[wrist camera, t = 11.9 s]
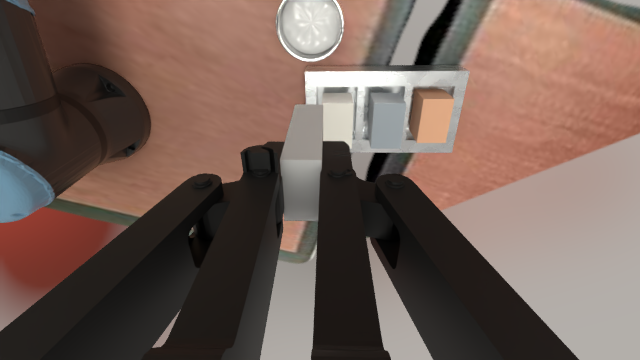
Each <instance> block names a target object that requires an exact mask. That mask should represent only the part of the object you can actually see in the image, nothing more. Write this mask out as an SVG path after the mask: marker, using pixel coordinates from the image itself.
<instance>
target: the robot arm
mask: <svg viewBox="0 0 640 360" xmlns="http://www.w3.org/2000/svg"><path fill="white" fill-rule="evenodd" d="M34 16H35V12H34V10H33V9H32V8H31V7H30V5H29V2H28V0H0V223H5V222H12V221H17V220H20V219H23V218H25V217H26V216H28V215H30V214H31V213H33V212H35V211H36V210H38V209H40V208H41V207H43V206H46V205H48V204H50V203H51V202H52V201H53V200H54V199H55V198H56V197H57V196H59V195H60V194H61V193H63V192H64V191H65V190H67V189H68V188H69V187H70V186H72V185H73V184H74V183H76V182H77V181H78V180H80V179H81V178H82V177H84V176H85V175H86V174H87V173H89V172H90V171H91V170H93V169H94V168H95V167H97V166H98V165H101V164H105V163H110V162H114V161H118V160H122V159H125V158H127V157H129V156H131V155H133V154H134V153H135V152H136V151H138V150H139V149H140V148H141V147H142V146H143V145H144V144H145V143H146V141H147V139H148V136H149V133H150V118H149V113H148V110H147V108H146V105H145V103H144V101H143V100H142V98H141V97H140V95H139V94H138V92H137V91H136V90H135V89H134V88H133V87H132V86H131V85H130V84H129V83H128V82H127V81H126V80H125V79H123V78H122V77H121V76H119V75H118V74H116V73H115V72H113V71H111V70H109V69H106V68H104V67H101V66H97V65H93V64H76V65H72V66H68V67H64V68H61V69H59V70H57V71H55V72H54V73H52V72H51V69H50V66H49V63H48V59H47V56H46V53H45V50H44V47H43V44H42V41H41V38H40V35H39V32H38V29H37V25H36V22H35V19H34ZM241 159H242V166H243V175H242V177H241V179H240V180H239V181H235V182H230V183H224V184H222V182H221V178H220V177H219V176H218V175H214V174H206V173H205V174H198V175H196V176H193V177H191V178H189V179H187V180H186V181H185V182H183V183H182V184H181V185H180V186H178V187H177V188H176V189H175V190H174V191H172V192H171V193H170V194H169V195H167V196H166V197H165V198H164V199H163V200H161V201H160V202H159V203H158V204H156V205H155V206H154V207H153V208H151V209H150V210H149V211H148V212H147V213H145V214H144V215H143V216H142V217H140V218H139V219H138V220H137V221H135V222H134V223H133V224H132V225H131V226H129V227H128V228H127V229H126V230H124V231H123V232H122V233H121V234H119V235H118V236H117V237H116V238H115V239H113V240H112V241H111V242H110V243H109V244H107V245H106V246H105V247H104V248H102V249H101V250H100V251H99V252H97V253H96V254H95V255H94V256H93V257H91V258H90V259H89V260H88V261H86V262H85V263H84V264H83V265H81V266H80V267H79V268H78V269H76V270H75V271H74V272H73V273H72V274H70V275H69V276H68V277H67V278H65V279H64V280H63V281H62V282H61V283H59V284H58V285H57V286H56V287H55V288H53V289H52V290H51V291H50V292H48V293H47V294H46V295H45V296H43V297H42V298H41V299H40V300H38V301H37V302H36V303H35V304H34V305H32V306H31V307H30V308H29V309H27V310H26V311H25V312H24V313H22V314H21V315H20V316H19V317H18V318H16V319H15V320H14V321H13V322H11V323H10V324H9V325H8V326H6V327H5V328H4V329H3V330H2V331H0V360H260V355H261V349H262V344H263V338H264V333H265V327H266V322H267V316H268V311H269V305H270V300H271V294H272V288H273V283H274V277H275V271H276V266H277V261H278V255H279V250H280V244H281V238H282V233H283V219H282V218H283V213H284V221H318V236H317V260H316V284H315V308H314V333H313V349H312V354H311V360H391V358H390V355H389V353H388V351H385V350H384V347H383V343H382V337H381V331H380V325H379V319H378V312H377V306H376V299H375V293H374V286H373V280H372V273H371V267H370V261H369V254H368V248H367V241H366V236H369V237H370V240H371V244H372V246H373V248H374V249H375V251H376V253H377V255H378V257H379V259H380V261H381V262H382V264H383V266H384V268H385V270H386V272H387V274H388V276H389V278H390V279H391V281H392V283H393V285H394V287H395V289H396V291H397V292H398V294H399V296H400V298H401V300H402V302H403V304H404V306H405V308H406V309H407V311H408V313H409V315H410V317H411V319H412V321H413V322H414V324H415V326H416V328H417V330H418V332H419V334H420V336H421V337H422V339H423V341H424V343H425V344H426V347H427V349H428V350H429V352H430V354H431V356H432V358H433V360H579V359H578V358H577V357H576V356H575V355H574V354H573V353H572V352H571V350H570V349H569V348H568V347H567V346H566V345H565V344H564V343H563V342H562V341H561V340H560V339H559V338H558V337H557V335H556V334H555V333H554V332H553V331H552V330H551V329H550V328H549V327H548V326H547V325H546V324H545V323H544V322H543V320H541V318H540V317H539V316H538V315H537V314H536V313H535V312H534V311H533V310H532V309H531V308H530V307H529V305H528V304H527V303H526V302H525V301H524V300H523V299H522V298H521V297H520V296H519V295H518V294H517V293H516V292H515V291H514V289H513V288H512V287H511V286H510V285H509V284H508V283H507V282H506V281H505V280H504V279H503V278H502V276H501V275H500V274H499V273H498V272H497V271H496V270H495V269H494V268H493V267H492V266H491V265H490V264H489V262H488V261H487V260H486V259H485V258H484V257H483V256H482V255H481V254H480V253H479V252H478V251H477V250H476V249H475V248H474V246H472V244H471V243H470V242H469V241H468V240H467V239H466V238H465V237H464V236H463V235H462V234H461V233H460V231H459V230H458V229H457V228H456V227H455V226H454V225H453V224H452V223H451V222H450V221H449V220H448V219H447V217H446V216H445V215H444V214H443V213H442V212H441V211H440V210H439V209H438V208H437V207H436V206H435V205H434V203H433V202H432V201H431V200H430V199H429V198H428V197H427V196H426V195H425V194H424V193H423V192H422V191H421V190H420V188H419V187H418V186H417V185H416V184H415V183H414V182H413V181H412V180H411V179H409V178H408V177H405V176H403V175H400V174H385V175H381V176H380V177H378V178H377V180H376V183H372V182H367V181H364V180H361V179H359V178H358V177H356V173H355V171H354V170H353V168H352V161H351V155H350V148H349V145H348V144H347V143H346V142H344V141H323V105H311V104H295V108H294V111H293V115H292V118H291V122H290V125H289V129H288V133H287V136H286V140H285V142H267V143H266V144H264V145H258V146H252V147H248V148H246V149H244V150H243V151H242V152H241ZM192 227H193V229H194V232H193V233H192V234H191V235H190V236H189V232H190V230H191V229H192ZM180 309H181V311H180ZM179 311H180V313H179V315H178V317H177V319H176V321H175V324H174V326H173V328H172V330H171V332H170V335H169V337H168V339H167V340H166V342H165V344H164V345H163V346H161V347H157V348H152V347H153V345H154V344H155V343H156V341H157V340H158V339H159V337H160V336H161V335H162V333H163V332H164V331H165V329H166V328H167V327H168V325H169V324H170V323H171V321H172V320H173V319H174V317H175V316H176V315H177V313H178V312H179Z"/></svg>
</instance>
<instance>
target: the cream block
mask: <svg viewBox="0 0 640 360" xmlns="http://www.w3.org/2000/svg"><path fill="white" fill-rule="evenodd" d="M322 105H323V141H344V142H346V143H347V144H348V145H349V148H352V130H353V107H354V103H353V98H352V93H323V96H322Z"/></svg>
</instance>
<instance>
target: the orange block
mask: <svg viewBox="0 0 640 360" xmlns="http://www.w3.org/2000/svg"><path fill="white" fill-rule="evenodd" d="M454 100H455V99H454V98H453V97H452V96H450V95H449V94H448V93H447V92H446V91H445V90H443V89H415V91H414V98H413V105H412V113H411V120H410V127H409V130H410V132H411V134H412V136H413V137H414V139H415V141H416V143H446V139H447V134H448V129H449V124H450V119H451V114H452V110H453V105H454Z"/></svg>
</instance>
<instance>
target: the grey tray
mask: <svg viewBox="0 0 640 360" xmlns="http://www.w3.org/2000/svg"><path fill="white" fill-rule="evenodd" d="M469 72H470V71H469V70H467V69H465V68H463V67H462V66H460V65H406V66H405V65H404V66H403V65H402V66H401V65H397V66H396V65H395V66H393V65H392V66H307V67H306V70H305V91H306V104H311V105H322V96H323V93H352V98H353V103H354V107H353V130H352V148H350V152H424V153H452V149H453V145H454V140H455V135H456V131H457V126H458V122H459V117H460V113H461V108H462V104H463V99H464V94H465V90H466V85H467V81H468V76H469ZM415 89H443V90H445V91H446V92H447V93H448V94H449V95H450V96H452V97H453V98H454V99H455V100H454V105H453V110H452V114H451V119H450V124H449V129H448V134H447V139H446V143H416V141H415V139H414V137H413V136H412V134H411V132H410V130H409V127H410V120H411V113H412V105H413V98H414V91H415ZM370 93H400V95H401V96H402V98H403V99H404V101H405V102H406V111H405V118H404V126H403V134H402V142H401V149H371V147H370V143H369V139H368V136H367V130H368V116H369V101H370Z"/></svg>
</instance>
